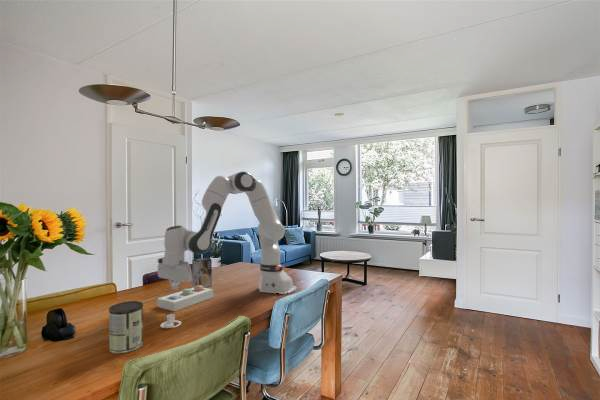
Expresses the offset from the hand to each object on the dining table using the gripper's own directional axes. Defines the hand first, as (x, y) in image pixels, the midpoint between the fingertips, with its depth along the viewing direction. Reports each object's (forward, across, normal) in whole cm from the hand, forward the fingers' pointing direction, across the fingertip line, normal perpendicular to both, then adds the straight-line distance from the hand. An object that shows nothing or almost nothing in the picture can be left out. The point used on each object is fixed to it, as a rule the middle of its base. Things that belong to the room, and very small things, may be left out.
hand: (174, 289), depth 148 cm
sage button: (+5, 0, -7) cm, 9 cm away
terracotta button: (+5, 0, -15) cm, 16 cm away
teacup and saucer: (+9, -15, +18) cm, 25 cm away
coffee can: (+8, -20, +36) cm, 42 cm away
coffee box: (+9, +14, -30) cm, 35 cm away
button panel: (+8, 0, -7) cm, 11 cm away
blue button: (+7, 0, 0) cm, 7 cm away
